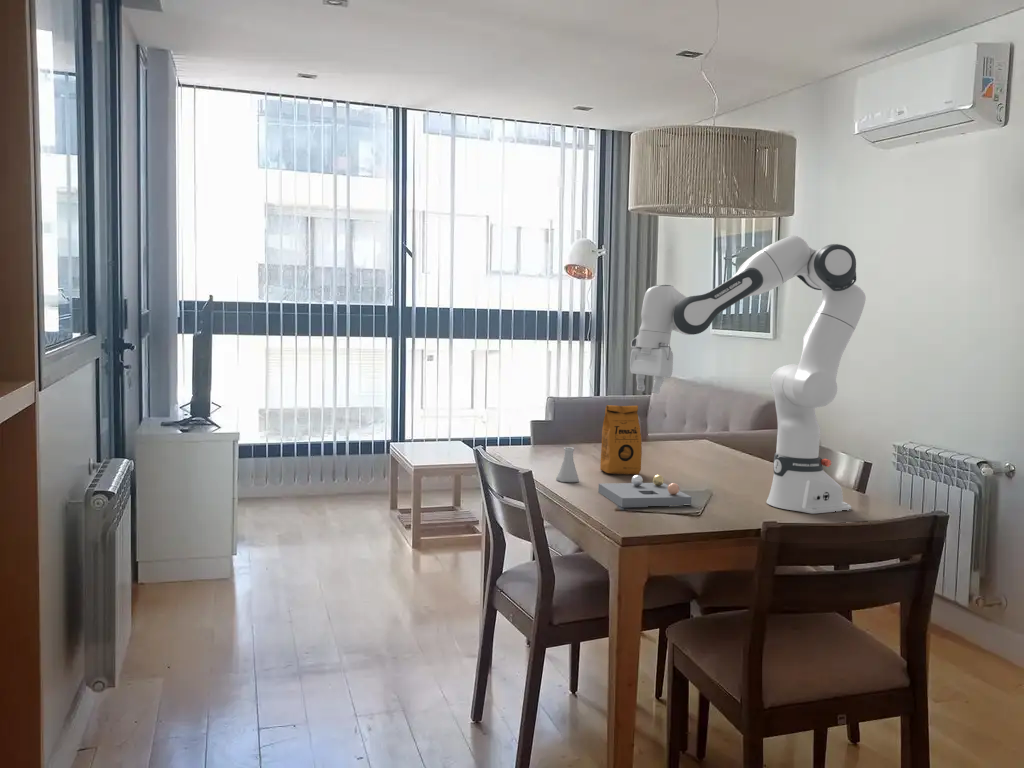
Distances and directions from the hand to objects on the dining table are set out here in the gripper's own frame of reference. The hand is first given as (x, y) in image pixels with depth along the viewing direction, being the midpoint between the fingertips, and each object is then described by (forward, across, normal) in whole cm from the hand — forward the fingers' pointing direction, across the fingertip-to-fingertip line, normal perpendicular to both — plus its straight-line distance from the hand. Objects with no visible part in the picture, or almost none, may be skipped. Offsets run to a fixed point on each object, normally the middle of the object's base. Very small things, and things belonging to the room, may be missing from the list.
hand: (647, 392), depth 231 cm
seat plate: (+30, -2, -2) cm, 30 cm away
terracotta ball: (+25, -8, -7) cm, 27 cm away
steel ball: (+25, +3, -1) cm, 25 cm away
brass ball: (+25, +3, -8) cm, 26 cm away
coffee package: (+28, +33, -10) cm, 44 cm away
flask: (+30, +23, +12) cm, 40 cm away
